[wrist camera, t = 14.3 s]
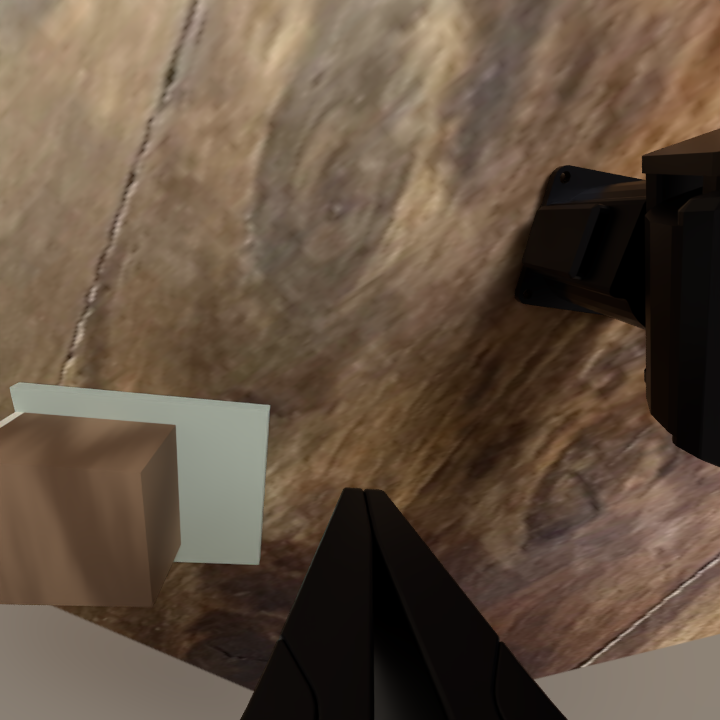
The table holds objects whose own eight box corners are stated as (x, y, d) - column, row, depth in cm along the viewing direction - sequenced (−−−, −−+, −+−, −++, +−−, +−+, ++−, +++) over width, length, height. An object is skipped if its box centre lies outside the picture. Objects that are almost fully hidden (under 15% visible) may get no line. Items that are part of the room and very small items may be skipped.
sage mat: (270, 405, 21) (268, 410, 20) (260, 557, 25) (258, 564, 24) (19, 382, 19) (9, 387, 18) (54, 549, 23) (48, 557, 23)
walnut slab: (140, 472, 16) (-62, 459, 15) (152, 607, 19) (-13, 603, 18) (175, 424, 20) (15, 411, 19) (180, 544, 23) (44, 538, 22)
